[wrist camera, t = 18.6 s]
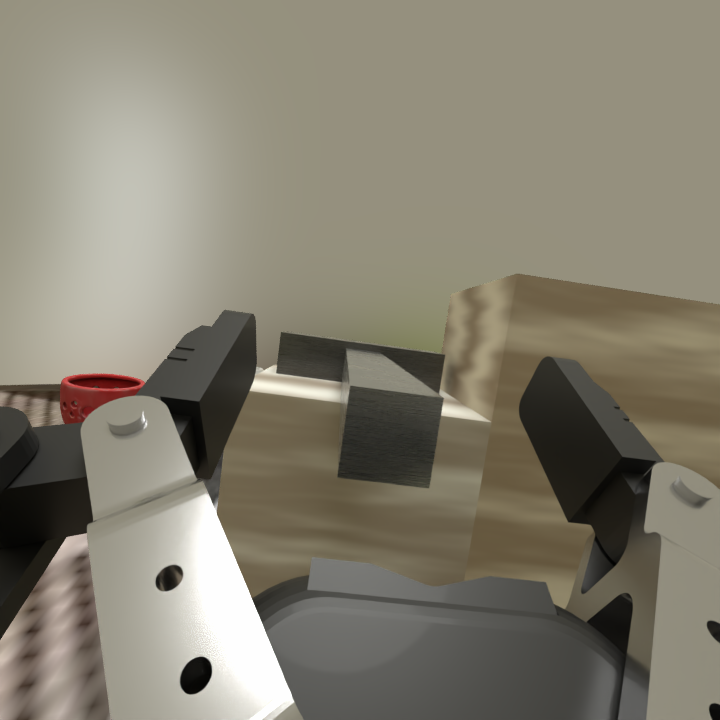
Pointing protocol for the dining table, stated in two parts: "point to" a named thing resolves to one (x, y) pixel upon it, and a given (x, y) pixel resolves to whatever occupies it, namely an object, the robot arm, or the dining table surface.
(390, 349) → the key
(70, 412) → the plant pot
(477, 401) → the step stand
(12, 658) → the dining table surface
